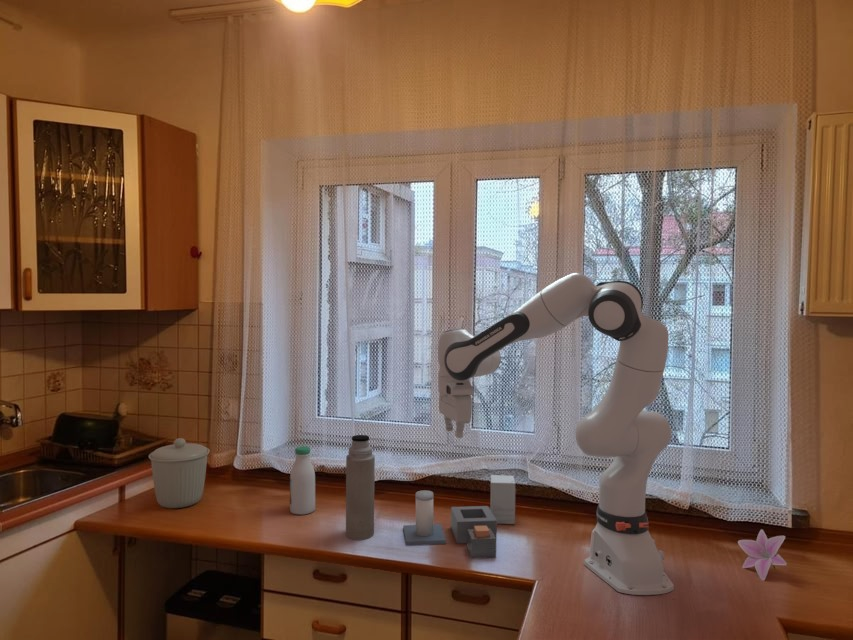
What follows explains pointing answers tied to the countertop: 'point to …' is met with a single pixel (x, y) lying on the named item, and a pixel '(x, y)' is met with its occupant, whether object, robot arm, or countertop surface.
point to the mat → (415, 539)
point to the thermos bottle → (360, 489)
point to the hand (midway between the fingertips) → (454, 434)
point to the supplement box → (503, 499)
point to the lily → (762, 553)
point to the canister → (179, 473)
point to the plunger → (481, 531)
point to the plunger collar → (481, 545)
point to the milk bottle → (302, 483)
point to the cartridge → (424, 513)
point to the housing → (471, 520)
